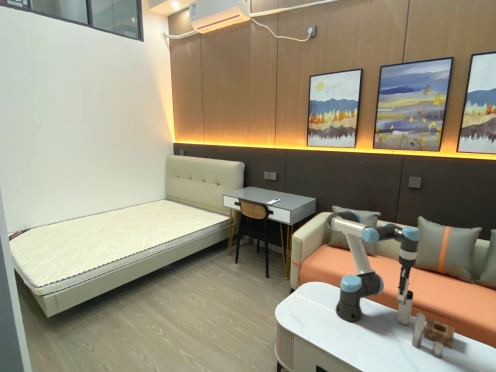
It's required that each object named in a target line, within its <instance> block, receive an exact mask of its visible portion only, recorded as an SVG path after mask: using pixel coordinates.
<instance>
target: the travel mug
mask: <svg viewBox="0 0 496 372" xmlns="http://www.w3.org/2000/svg"><path fill="white" fill-rule="evenodd" d="M413 301H414V292H413V291H412V290H409V289H408V291H407V298H406V304H405V305H400V304H398V310H397V317H396V321H397V322H398V323H399V324H401V325H403V326H408V325H409V324H410V321H411V315H412V314H411V313H412V309H413V307H412V306H413Z"/></svg>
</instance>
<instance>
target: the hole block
mask: <svg viewBox="0 0 496 372" xmlns="http://www.w3.org/2000/svg"><path fill="white" fill-rule="evenodd" d="M425 323H426V324H425V326H424V331H423V338H424V339H427V340H430V341H432V342H433V343H434V342H435V341H437V342H440V343H442V344H443V345H444V347H446V348H448V349H450V350H451V349H452V346H453V341H454V335H455V329H456V328H455V327H452V326H451V325H448V324H446V323H443V322H439V321H437V320H435V319H432V318H429V317H427V320H426V322H425Z"/></svg>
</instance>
